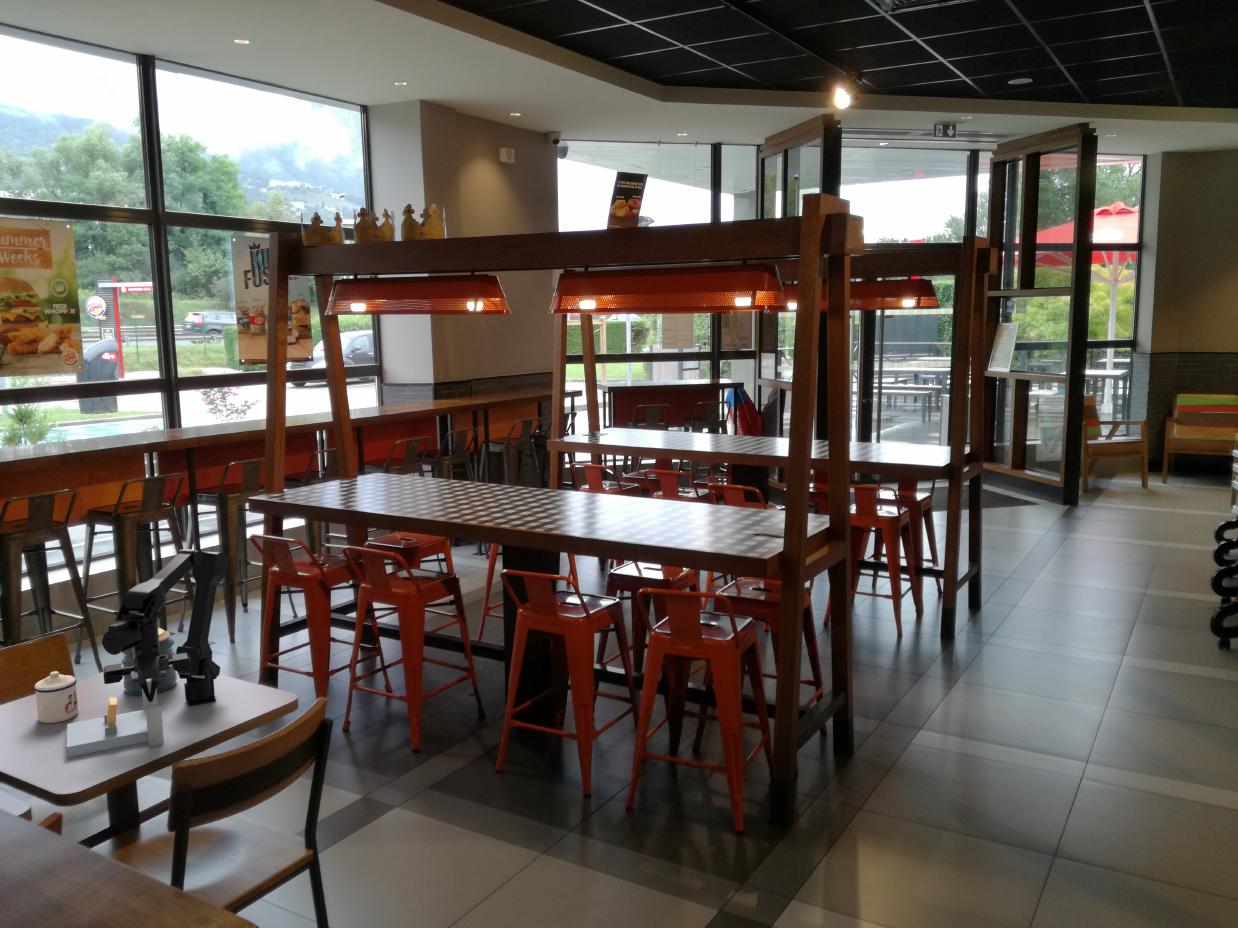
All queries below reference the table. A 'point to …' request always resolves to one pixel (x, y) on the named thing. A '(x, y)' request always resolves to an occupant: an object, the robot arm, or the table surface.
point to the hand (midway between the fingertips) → (150, 701)
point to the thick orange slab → (112, 710)
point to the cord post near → (154, 725)
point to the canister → (171, 674)
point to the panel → (97, 737)
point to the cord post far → (145, 700)
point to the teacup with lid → (56, 698)
